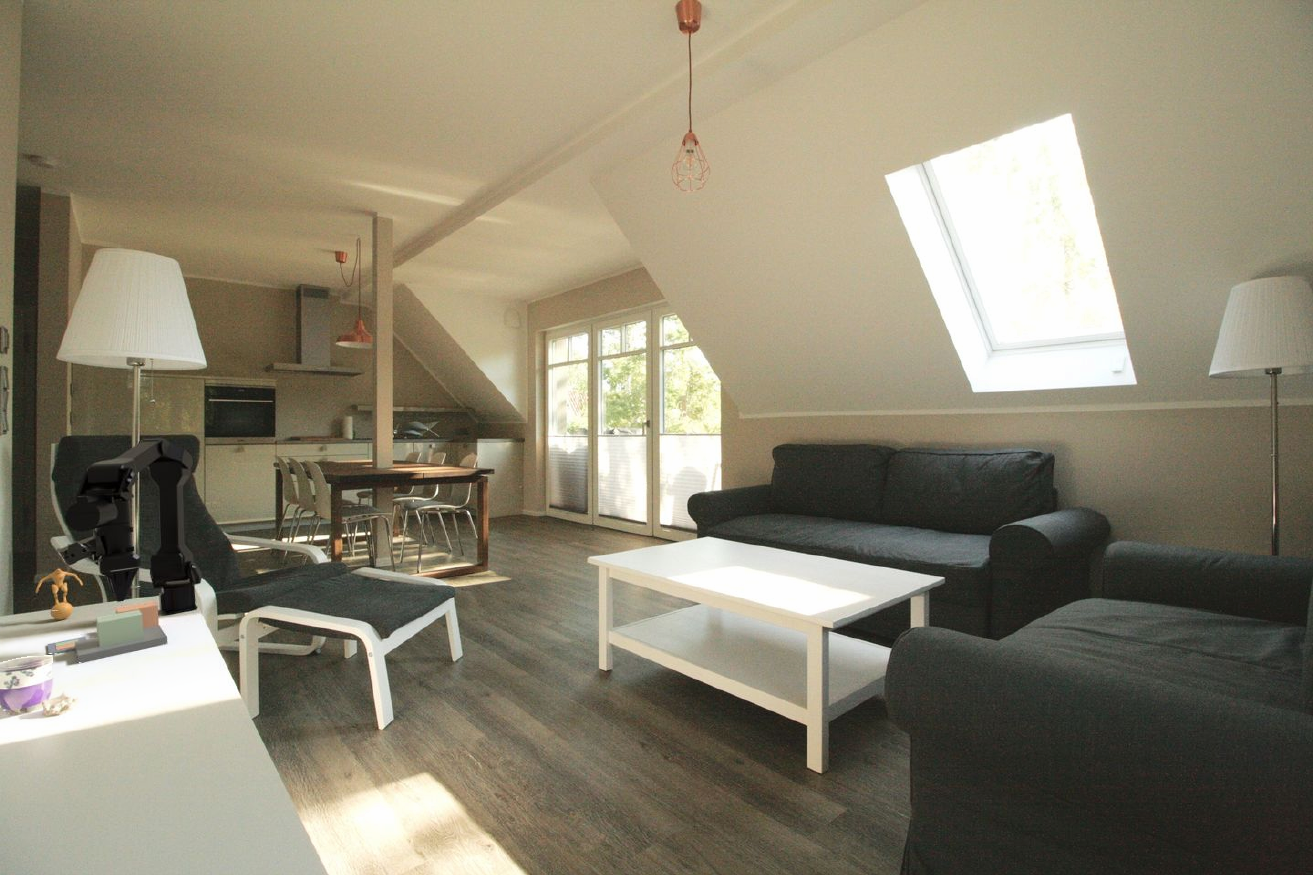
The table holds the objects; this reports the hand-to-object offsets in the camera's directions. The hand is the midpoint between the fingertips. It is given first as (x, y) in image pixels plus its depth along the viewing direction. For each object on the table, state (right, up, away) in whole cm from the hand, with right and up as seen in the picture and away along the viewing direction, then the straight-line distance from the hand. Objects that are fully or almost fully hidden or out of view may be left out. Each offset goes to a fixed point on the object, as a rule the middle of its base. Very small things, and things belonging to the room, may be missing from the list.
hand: (117, 596), depth 133 cm
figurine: (-31, -11, +21) cm, 39 cm away
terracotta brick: (-6, -10, +13) cm, 18 cm away
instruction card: (-12, -11, +1) cm, 16 cm away
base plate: (0, -11, +1) cm, 11 cm away
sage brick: (0, -9, +1) cm, 9 cm away
